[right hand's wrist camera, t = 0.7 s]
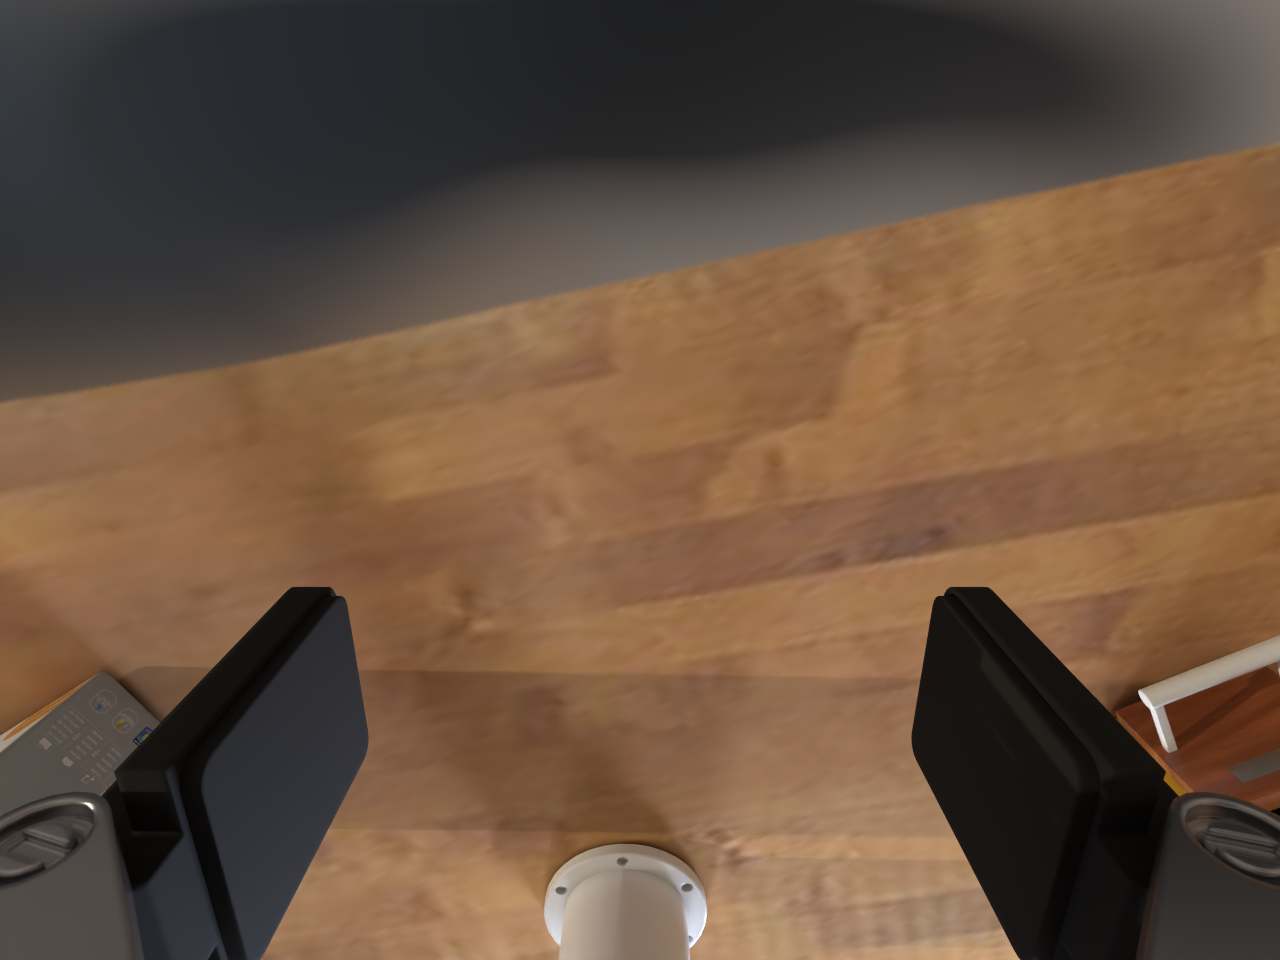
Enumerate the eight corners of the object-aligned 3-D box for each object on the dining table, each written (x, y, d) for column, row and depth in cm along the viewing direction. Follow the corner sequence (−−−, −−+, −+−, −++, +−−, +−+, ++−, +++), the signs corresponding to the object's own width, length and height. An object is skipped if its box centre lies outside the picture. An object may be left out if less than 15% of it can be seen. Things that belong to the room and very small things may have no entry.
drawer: (1094, 654, 46) (1195, 751, 38) (1237, 597, 45) (1376, 684, 36) (1167, 859, 52) (1268, 981, 44) (1295, 814, 51) (1425, 932, 42)
